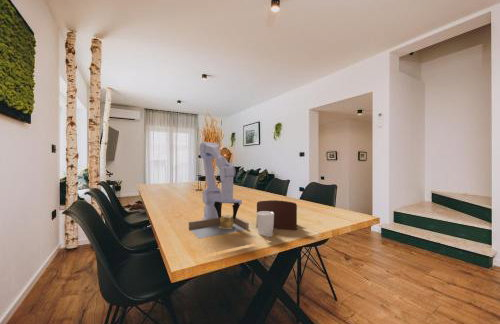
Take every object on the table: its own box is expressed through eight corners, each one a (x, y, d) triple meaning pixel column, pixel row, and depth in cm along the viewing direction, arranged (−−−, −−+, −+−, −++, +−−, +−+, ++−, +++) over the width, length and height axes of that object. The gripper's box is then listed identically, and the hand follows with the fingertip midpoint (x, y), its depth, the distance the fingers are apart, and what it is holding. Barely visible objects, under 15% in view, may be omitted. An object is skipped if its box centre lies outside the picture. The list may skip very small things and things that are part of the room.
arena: (188, 230, 103) (188, 221, 103) (233, 222, 116) (233, 215, 116) (199, 240, 90) (199, 231, 90) (248, 231, 102) (248, 223, 102)
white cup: (276, 234, 99) (277, 212, 99) (269, 239, 92) (269, 216, 92) (261, 231, 103) (261, 210, 103) (253, 236, 96) (253, 213, 96)
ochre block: (220, 227, 104) (220, 217, 104) (223, 224, 109) (224, 214, 109) (230, 228, 103) (230, 217, 103) (233, 225, 108) (233, 215, 108)
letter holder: (296, 230, 104) (297, 201, 104) (256, 228, 108) (256, 200, 108) (296, 224, 114) (296, 198, 114) (259, 222, 118) (259, 196, 118)
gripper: (210, 190, 104) (210, 218, 104) (239, 192, 100) (238, 221, 101) (216, 188, 111) (215, 215, 111) (243, 190, 107) (242, 217, 107)
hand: (227, 217), depth 106 cm, fingers open, 7 cm apart
